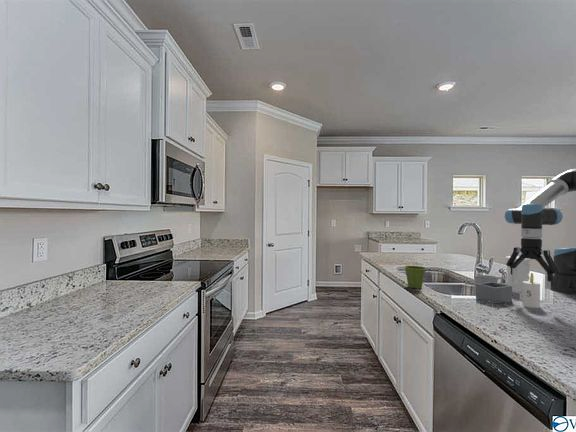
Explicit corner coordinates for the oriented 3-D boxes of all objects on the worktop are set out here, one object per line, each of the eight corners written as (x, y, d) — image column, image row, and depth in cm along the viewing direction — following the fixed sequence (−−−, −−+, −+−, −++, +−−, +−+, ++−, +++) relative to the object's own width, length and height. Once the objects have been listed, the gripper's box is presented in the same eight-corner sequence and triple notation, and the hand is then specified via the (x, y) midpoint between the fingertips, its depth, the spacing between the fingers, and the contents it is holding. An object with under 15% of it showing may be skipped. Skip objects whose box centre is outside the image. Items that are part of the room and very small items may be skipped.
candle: (520, 305, 145) (520, 272, 144) (524, 303, 149) (524, 270, 149) (537, 308, 140) (537, 274, 140) (541, 306, 144) (541, 272, 144)
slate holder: (491, 296, 161) (491, 281, 161) (511, 301, 151) (512, 286, 151) (476, 298, 157) (476, 283, 156) (496, 304, 147) (496, 288, 147)
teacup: (476, 292, 169) (476, 277, 169) (472, 287, 179) (472, 273, 179) (507, 294, 164) (507, 278, 164) (501, 289, 175) (501, 275, 175)
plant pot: (420, 290, 172) (420, 270, 172) (400, 287, 181) (400, 267, 181) (430, 287, 180) (430, 267, 180) (410, 283, 189) (410, 264, 189)
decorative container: (499, 289, 175) (499, 256, 174) (513, 287, 179) (513, 255, 179) (522, 294, 164) (522, 259, 164) (536, 292, 168) (536, 258, 168)
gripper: (498, 236, 154) (497, 280, 154) (558, 240, 131) (557, 292, 131) (508, 236, 157) (507, 279, 157) (569, 240, 134) (568, 290, 134)
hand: (530, 285), depth 144 cm, fingers open, 13 cm apart
